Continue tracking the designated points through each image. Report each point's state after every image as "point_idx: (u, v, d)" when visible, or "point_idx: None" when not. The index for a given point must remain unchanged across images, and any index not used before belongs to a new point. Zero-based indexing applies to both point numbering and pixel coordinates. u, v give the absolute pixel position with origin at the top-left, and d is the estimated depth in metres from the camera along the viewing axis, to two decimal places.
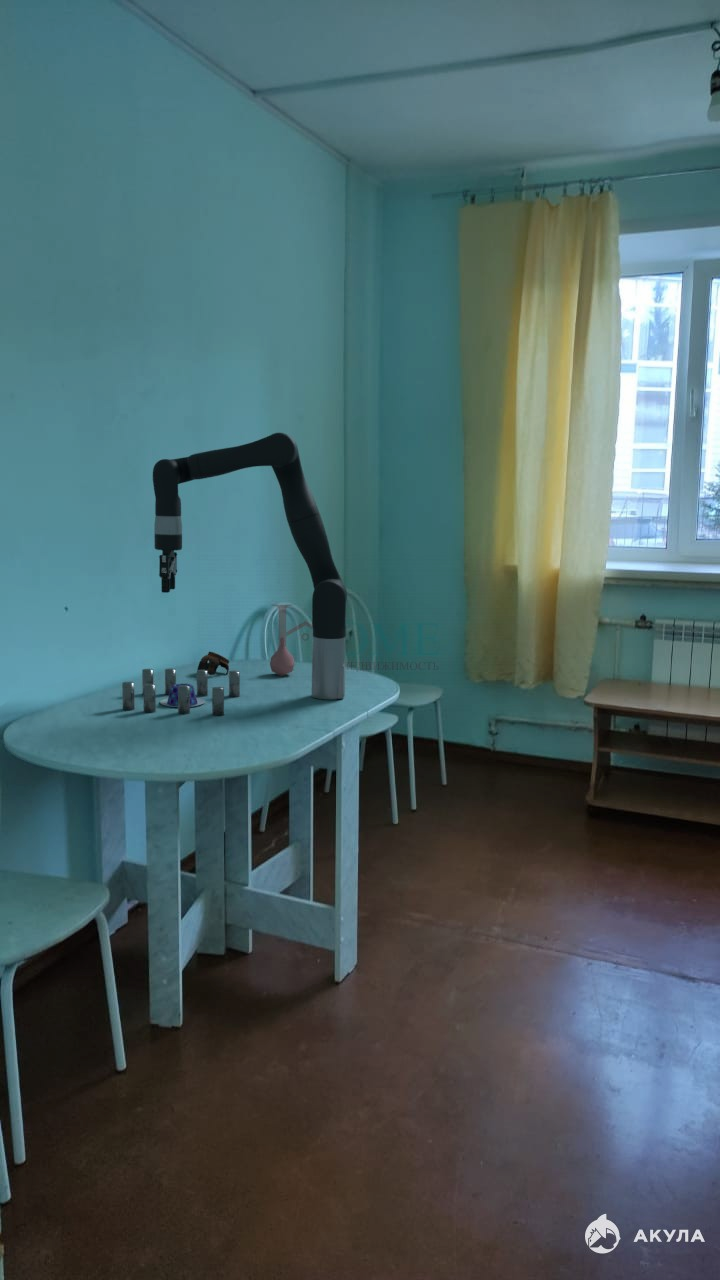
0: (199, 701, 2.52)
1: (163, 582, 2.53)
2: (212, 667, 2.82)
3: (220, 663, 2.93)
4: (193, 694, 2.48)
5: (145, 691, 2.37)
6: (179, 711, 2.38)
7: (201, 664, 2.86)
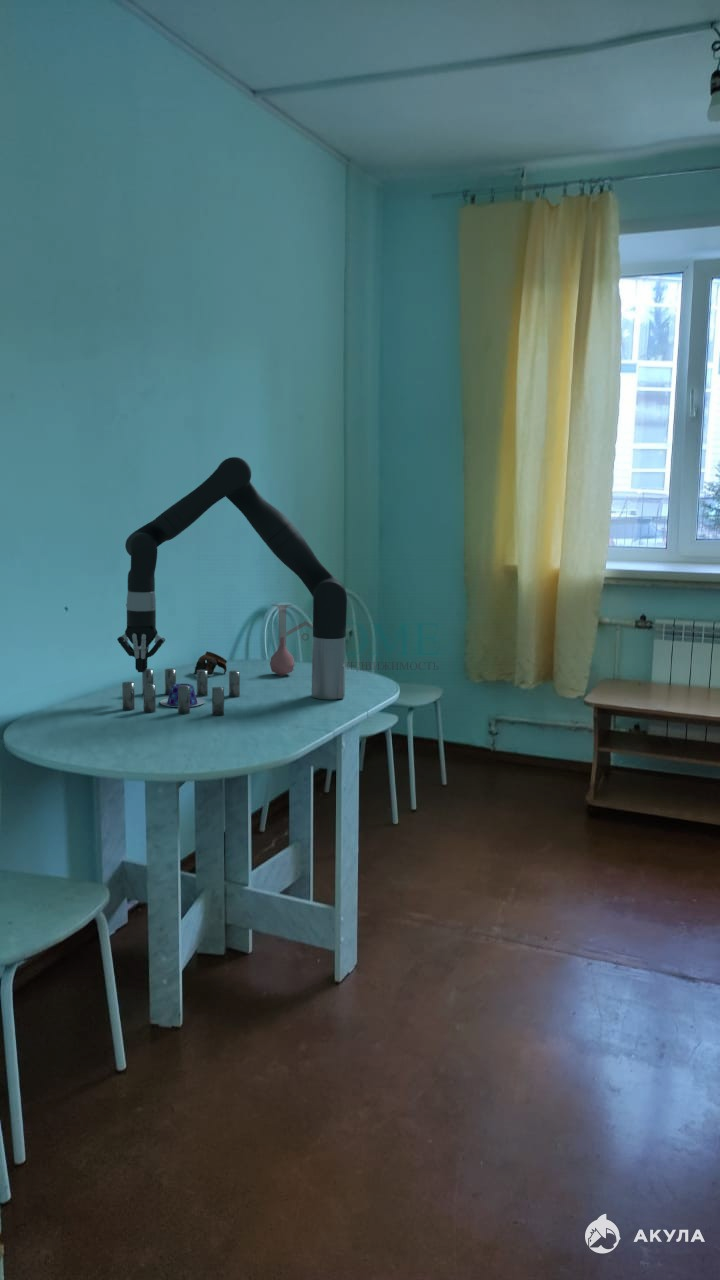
0: (199, 701, 2.52)
1: (145, 662, 2.48)
2: (210, 667, 2.82)
3: (217, 663, 2.93)
4: (193, 694, 2.48)
5: (145, 691, 2.37)
6: (179, 711, 2.38)
7: (199, 664, 2.86)
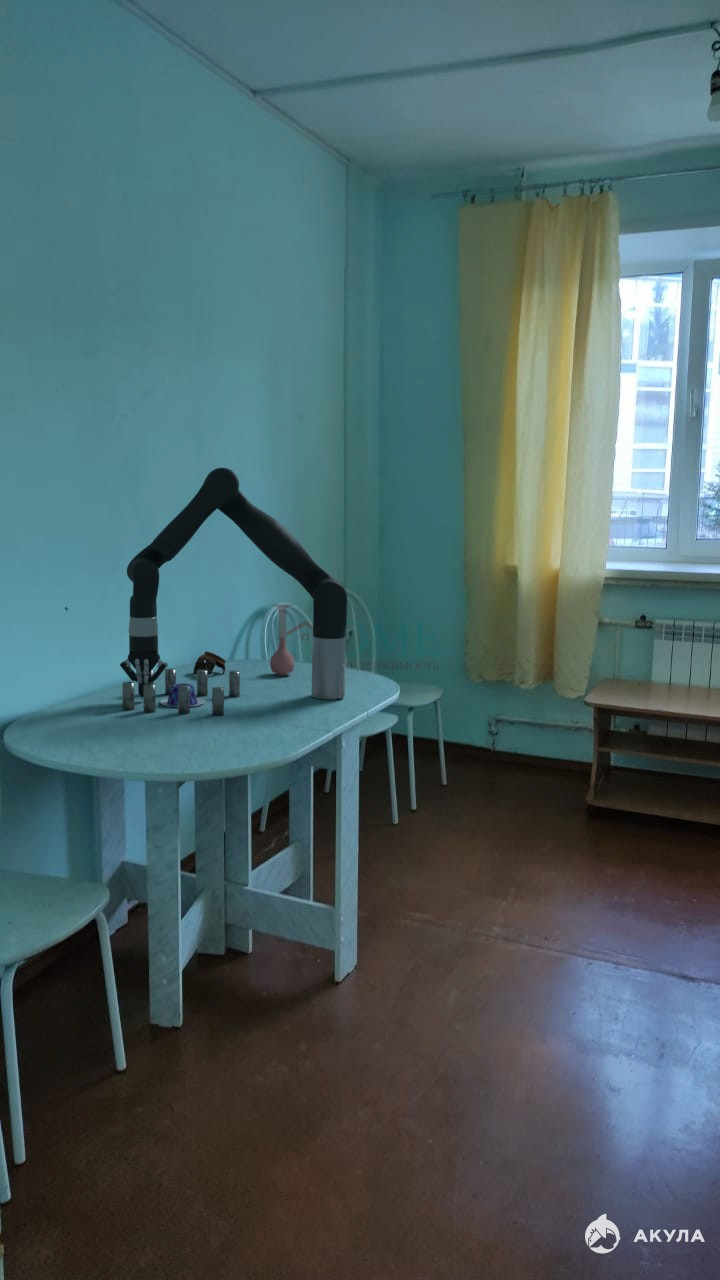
0: (199, 701, 2.52)
1: None
2: (209, 667, 2.82)
3: (216, 663, 2.93)
4: (193, 694, 2.48)
5: (145, 691, 2.37)
6: (179, 711, 2.38)
7: (197, 664, 2.86)
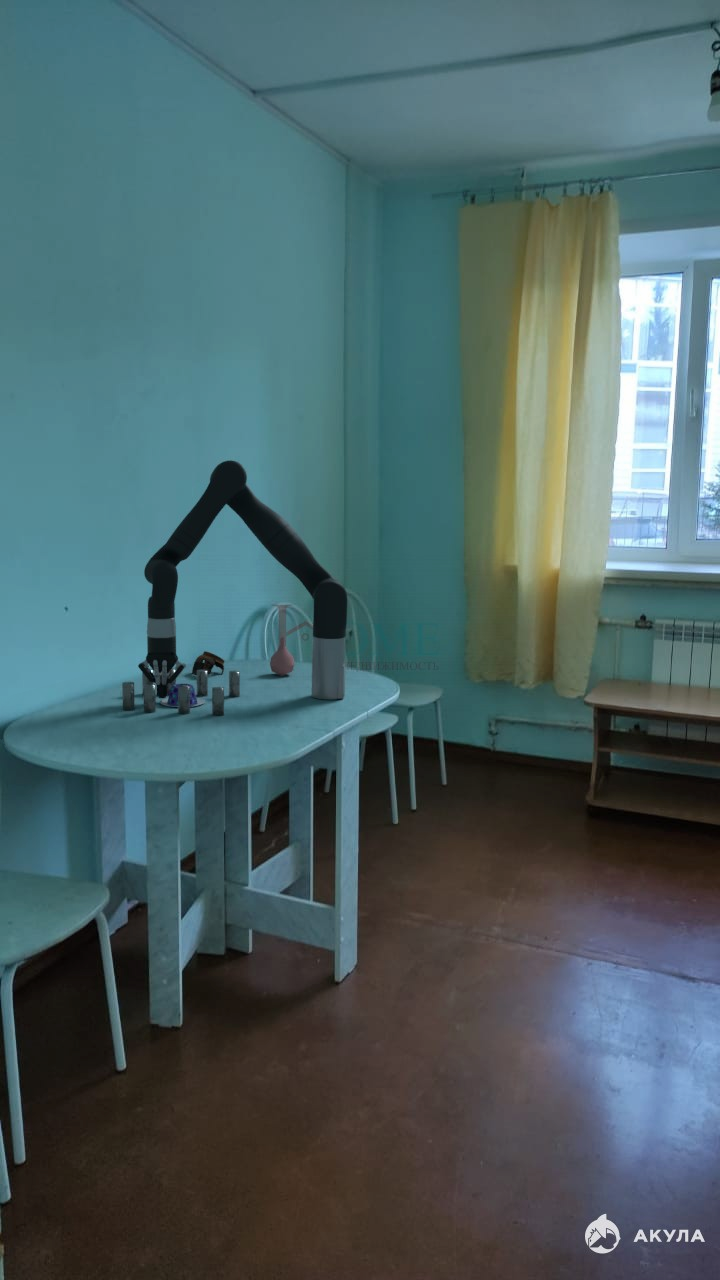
0: (199, 701, 2.52)
1: (166, 688, 2.49)
2: (207, 667, 2.82)
3: (215, 663, 2.93)
4: (193, 694, 2.48)
5: (145, 691, 2.37)
6: (179, 711, 2.38)
7: (196, 664, 2.86)
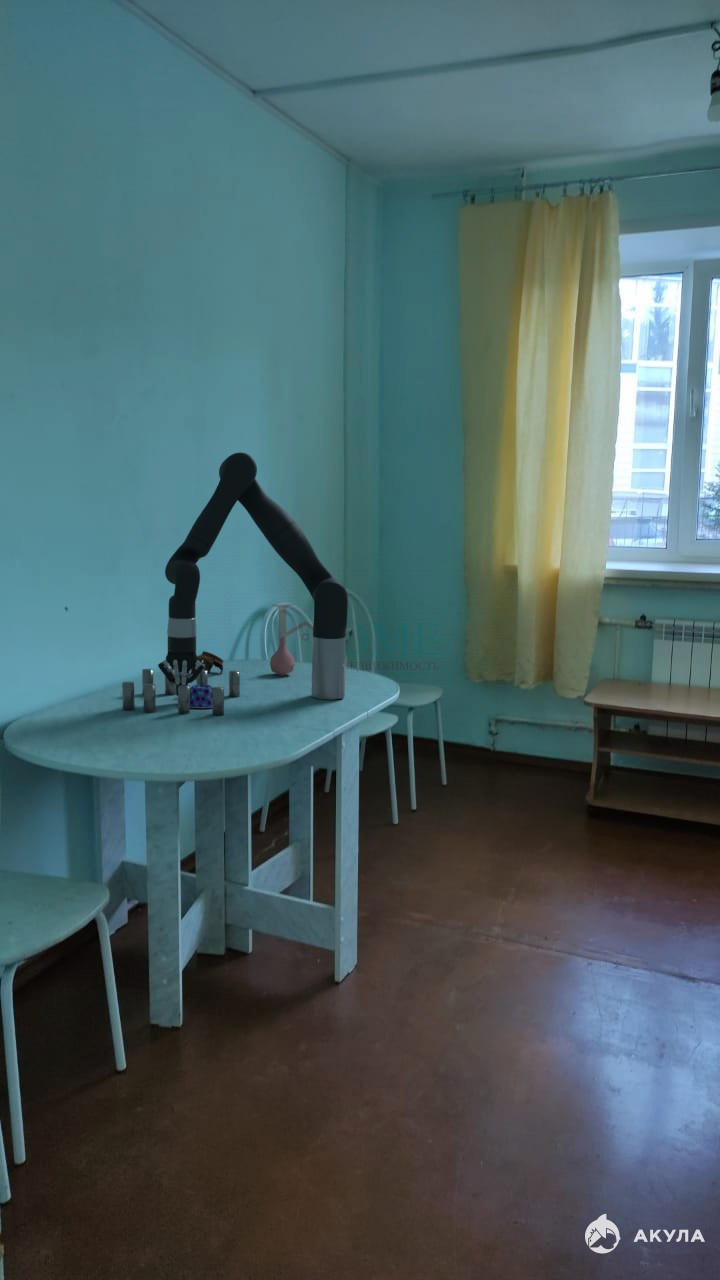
0: None
1: None
2: (206, 667, 2.82)
3: (214, 663, 2.93)
4: None
5: (145, 691, 2.37)
6: (179, 711, 2.38)
7: (195, 664, 2.86)
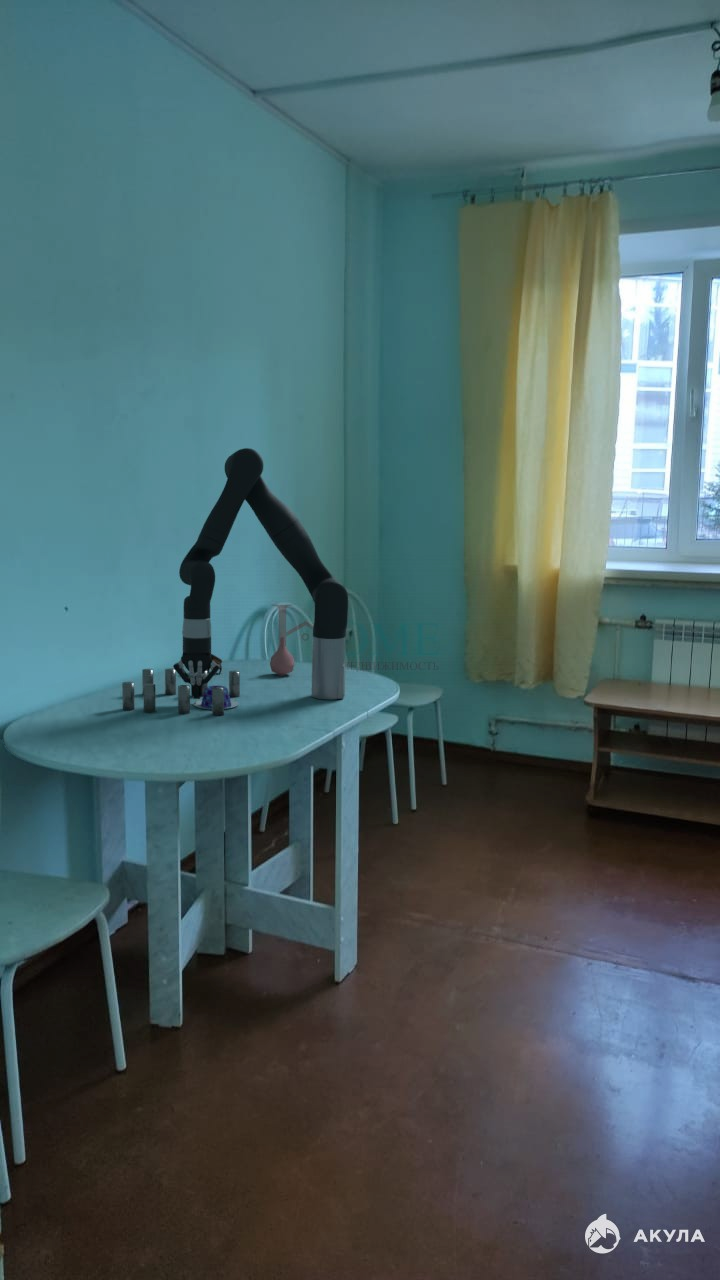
0: (232, 703, 2.51)
1: (201, 688, 2.48)
2: None
3: None
4: (227, 696, 2.47)
5: (145, 691, 2.37)
6: (179, 711, 2.38)
7: None
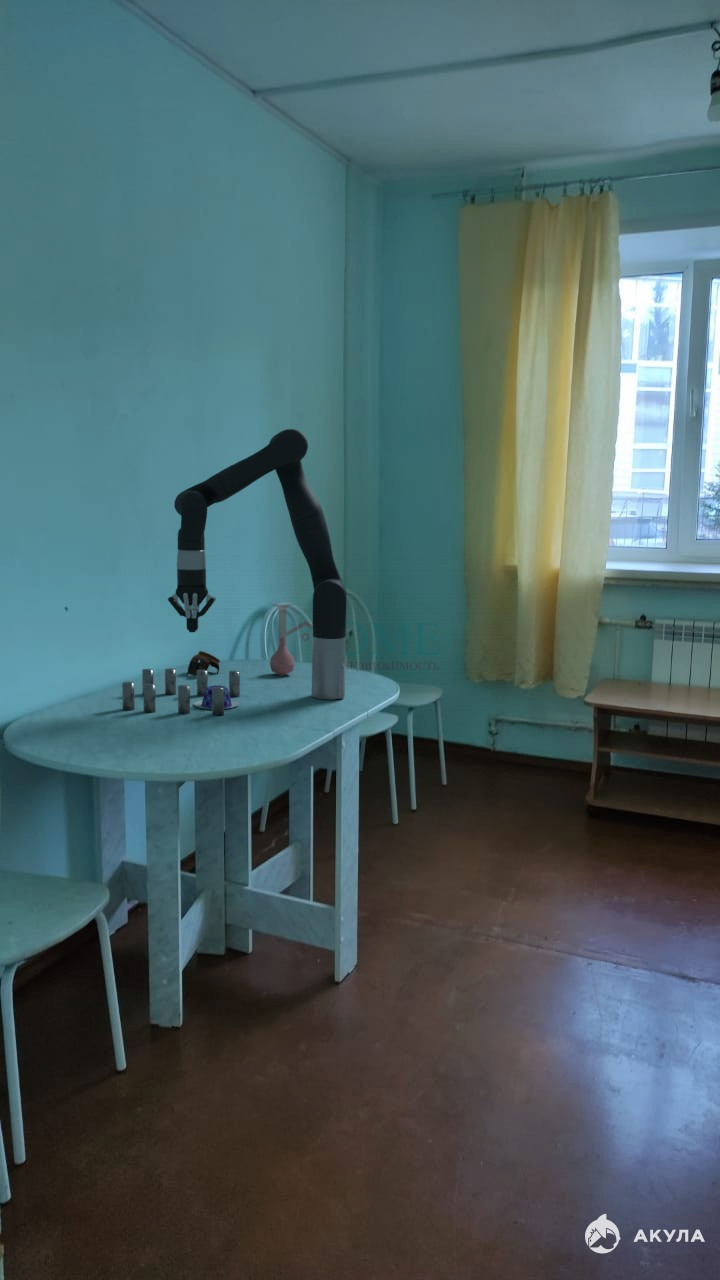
0: (232, 703, 2.51)
1: (197, 621, 2.47)
2: (203, 667, 2.82)
3: (210, 662, 2.93)
4: (228, 696, 2.47)
5: (145, 691, 2.37)
6: (179, 711, 2.38)
7: (192, 664, 2.86)
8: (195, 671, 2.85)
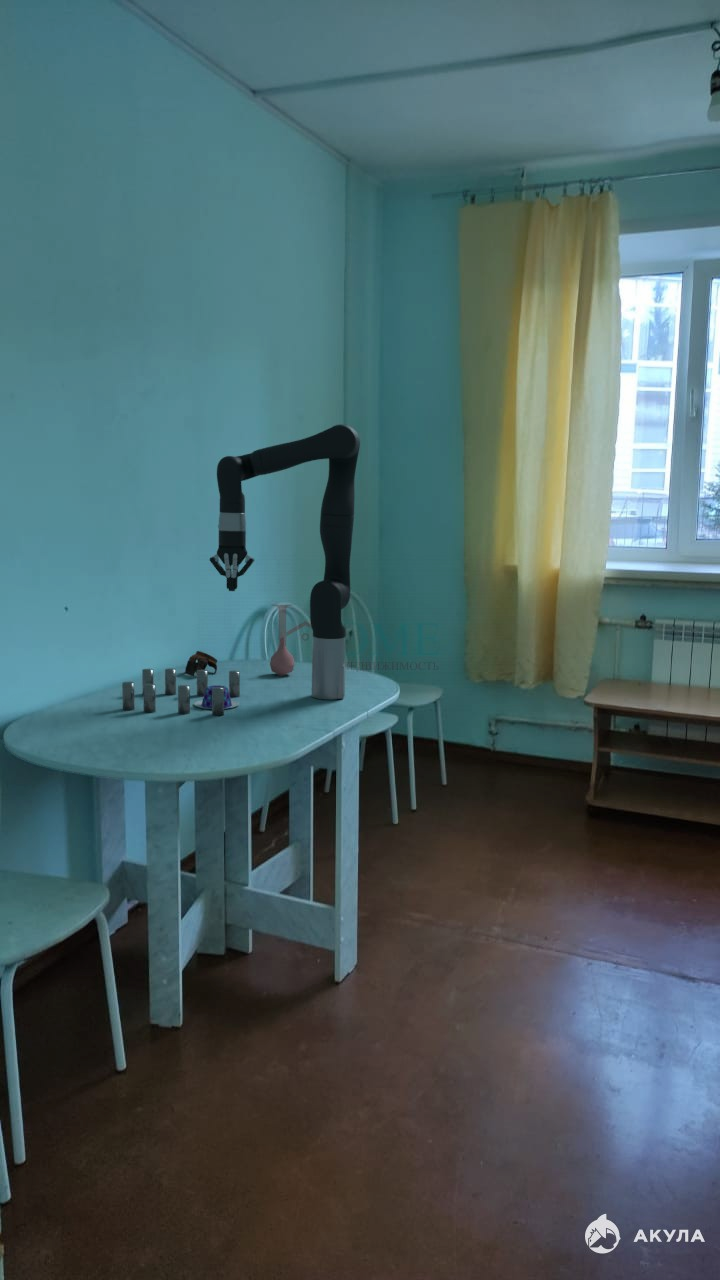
0: (232, 702, 2.51)
1: (236, 581, 2.60)
2: (201, 666, 2.82)
3: (208, 662, 2.93)
4: (228, 696, 2.47)
5: (145, 691, 2.37)
6: (179, 711, 2.38)
7: (189, 663, 2.86)
8: (193, 671, 2.85)
